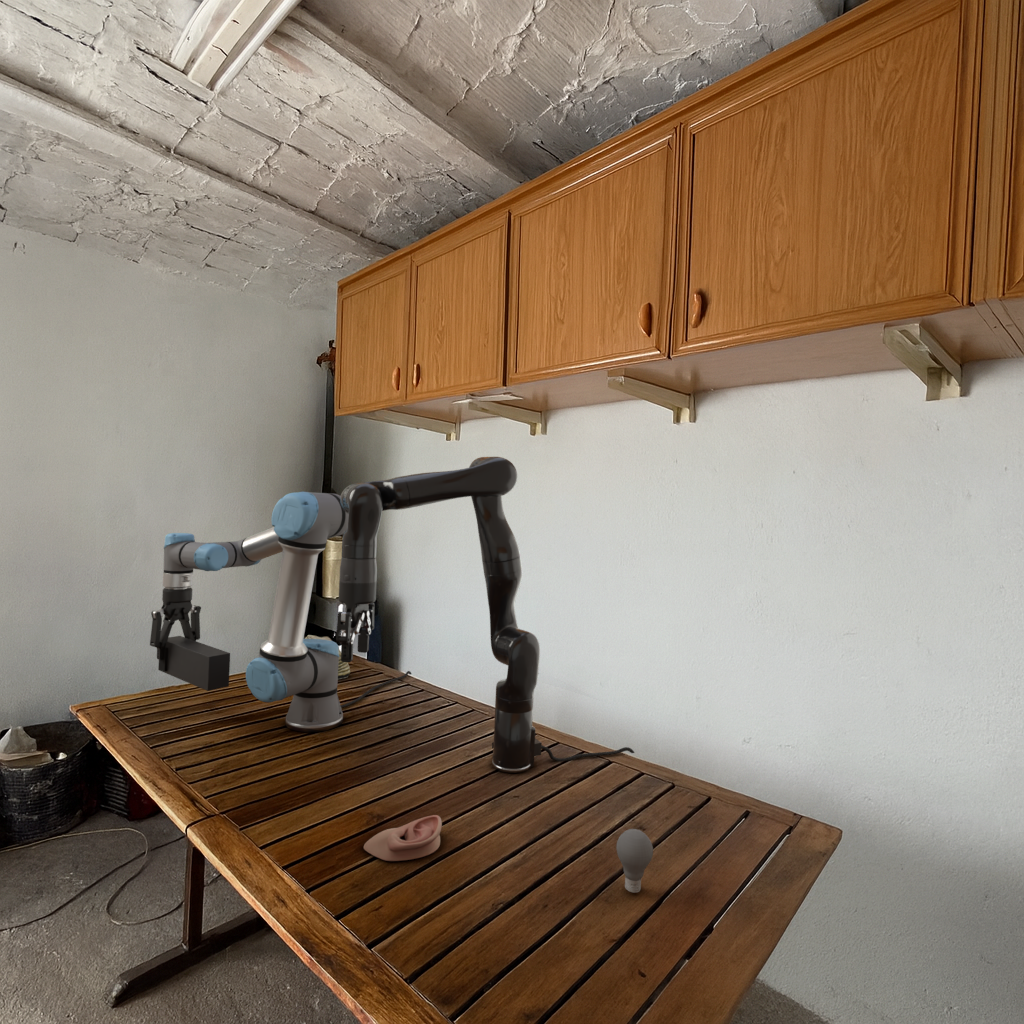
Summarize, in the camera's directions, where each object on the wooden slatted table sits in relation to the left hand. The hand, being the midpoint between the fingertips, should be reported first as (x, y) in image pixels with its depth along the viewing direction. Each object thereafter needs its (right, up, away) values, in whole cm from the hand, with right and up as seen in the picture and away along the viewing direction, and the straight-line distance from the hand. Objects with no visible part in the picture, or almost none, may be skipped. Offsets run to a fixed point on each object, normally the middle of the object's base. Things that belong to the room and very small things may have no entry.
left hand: (174, 667), depth 181 cm
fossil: (+31, -13, +37) cm, 50 cm away
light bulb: (+117, -19, -75) cm, 140 cm away
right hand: (+64, +14, -49) cm, 82 cm away
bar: (+8, -1, -6) cm, 10 cm away
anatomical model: (+76, -17, -64) cm, 101 cm away
